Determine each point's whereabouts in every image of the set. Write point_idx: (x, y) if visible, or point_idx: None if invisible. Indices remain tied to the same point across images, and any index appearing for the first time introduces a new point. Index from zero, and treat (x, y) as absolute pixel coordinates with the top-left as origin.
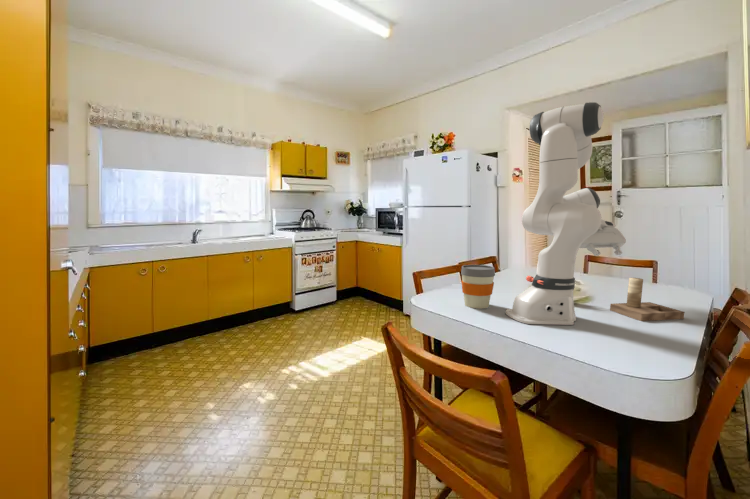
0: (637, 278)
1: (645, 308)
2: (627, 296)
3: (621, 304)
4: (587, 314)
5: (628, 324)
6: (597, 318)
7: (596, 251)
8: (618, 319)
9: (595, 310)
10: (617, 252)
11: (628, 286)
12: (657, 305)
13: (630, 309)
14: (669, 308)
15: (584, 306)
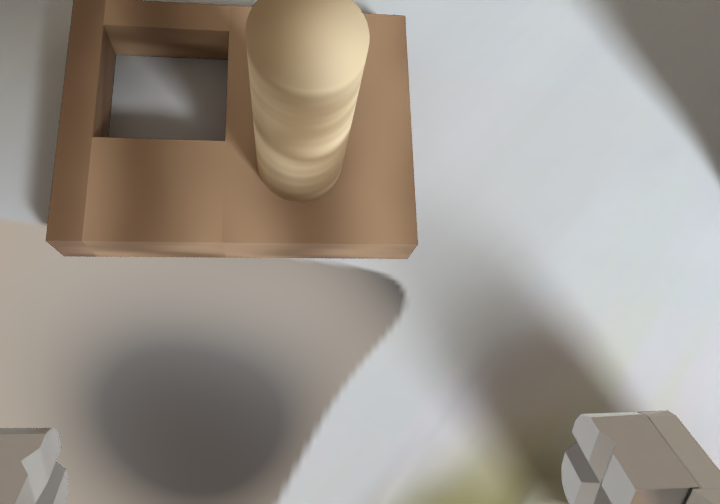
0: (279, 40)
1: None
2: (342, 153)
3: (351, 213)
4: (620, 200)
5: (512, 15)
6: (610, 124)
7: (691, 442)
8: (501, 90)
9: (510, 271)
10: (44, 475)
11: (351, 110)
12: (91, 149)
13: (395, 99)
14: (88, 73)
15: (521, 377)
